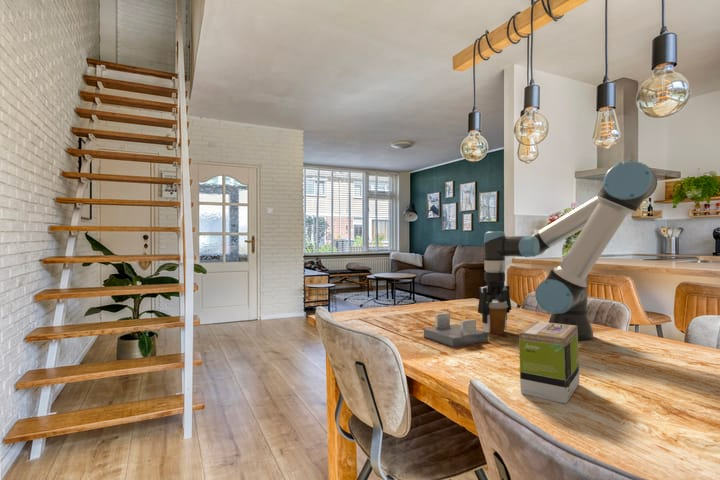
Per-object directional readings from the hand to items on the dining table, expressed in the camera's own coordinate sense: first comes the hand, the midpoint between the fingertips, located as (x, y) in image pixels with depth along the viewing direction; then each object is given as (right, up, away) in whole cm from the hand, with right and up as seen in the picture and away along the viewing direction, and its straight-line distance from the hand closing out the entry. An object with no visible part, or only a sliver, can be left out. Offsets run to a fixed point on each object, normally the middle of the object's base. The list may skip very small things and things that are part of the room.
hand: (495, 330), depth 149 cm
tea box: (-6, -1, -57) cm, 57 cm away
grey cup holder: (-18, -1, -9) cm, 20 cm away
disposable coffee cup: (0, -1, 0) cm, 1 cm away
